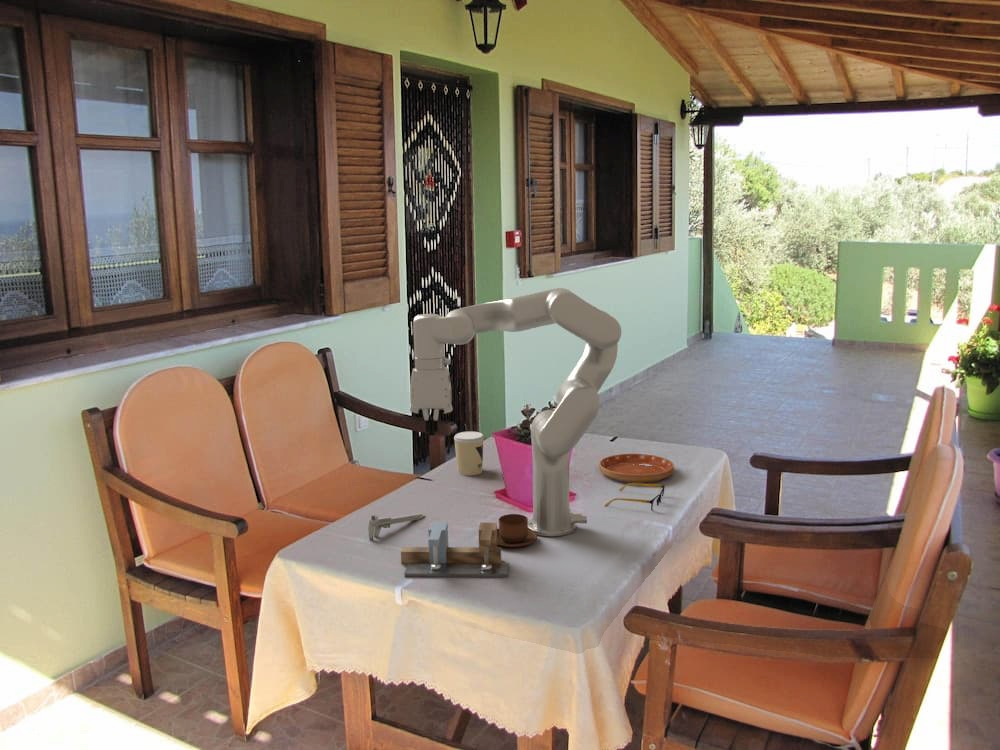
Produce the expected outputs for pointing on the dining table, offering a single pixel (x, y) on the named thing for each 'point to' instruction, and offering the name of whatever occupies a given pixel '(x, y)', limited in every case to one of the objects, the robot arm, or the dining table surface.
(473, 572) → the bolt plate
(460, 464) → the coffee cup
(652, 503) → the eyeglasses
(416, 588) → the dining table surface
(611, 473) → the saucer
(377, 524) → the caliper
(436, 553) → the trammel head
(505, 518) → the cup and saucer
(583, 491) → the dining table surface
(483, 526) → the beam
